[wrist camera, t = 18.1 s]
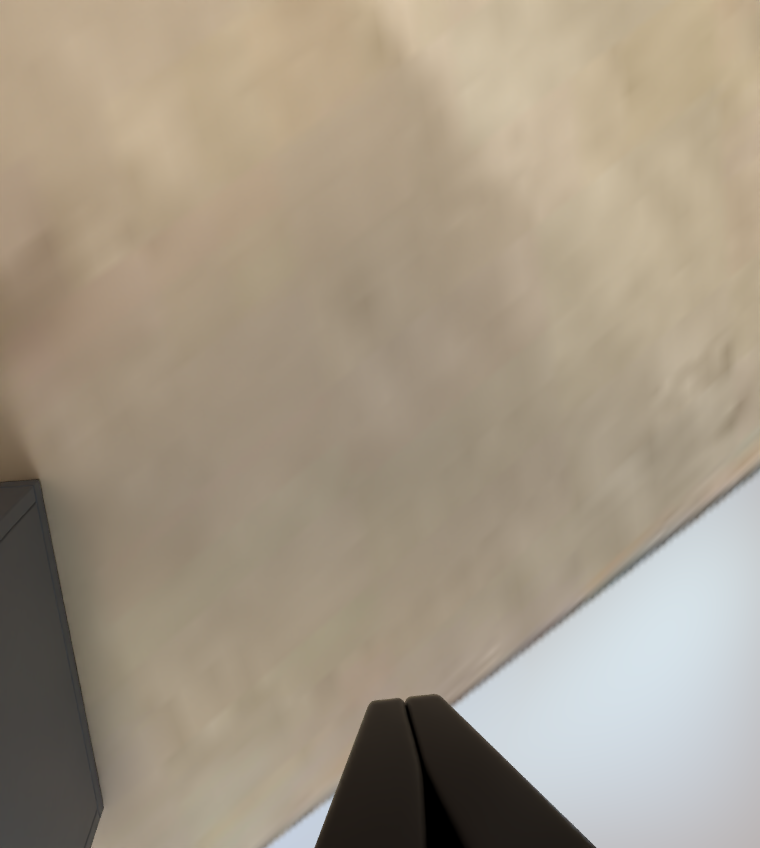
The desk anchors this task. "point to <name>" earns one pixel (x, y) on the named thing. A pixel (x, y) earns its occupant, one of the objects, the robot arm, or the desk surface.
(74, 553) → the desk surface
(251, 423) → the desk surface
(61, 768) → the box
